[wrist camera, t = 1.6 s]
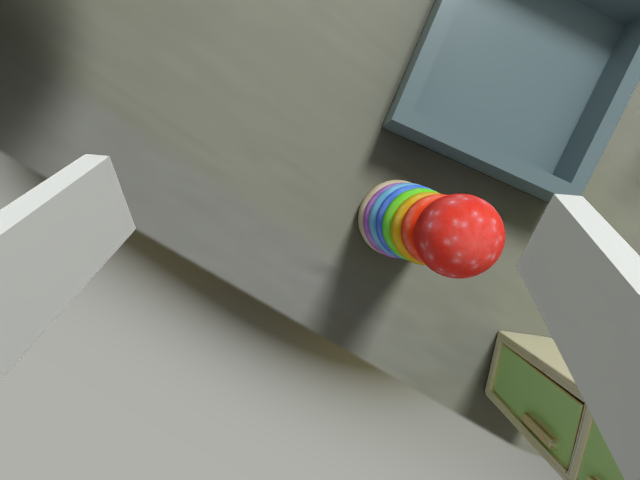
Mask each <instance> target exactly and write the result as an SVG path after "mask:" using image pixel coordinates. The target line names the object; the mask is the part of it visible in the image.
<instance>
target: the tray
mask: <svg viewBox="0 0 640 480" xmlns="http://www.w3.org/2000/svg"><path fill="white" fill-rule="evenodd" d="M639 79H640V0H436V1H435V3H434V6H433V8H432V10H431V13H430V15H429V17H428V20H427V22H426V24H425V27H424V29H423V31H422V34H421V36H420V38H419V41H418V43H417V46H416V48H415V50H414V53H413V55H412V57H411V60H410V62H409V64H408V67H407V69H406V71H405V74H404V76H403V78H402V81H401V83H400V86H399V88H398V90H397V93H396V95H395V97H394V100H393V102H392V104H391V107H390V109H389V111H388V114H387V116H386V118H385V121H384V123H383V126H382V128H384V129H386V130H388V131H390V132H393V133H395V134H397V135H399V136H401V137H404V138H406V139H408V140H410V141H412V142H415V143H417V144H419V145H421V146H424V147H426V148H428V149H430V150H432V151H435V152H437V153H439V154H441V155H443V156H446V157H448V158H450V159H452V160H455V161H457V162H459V163H461V164H463V165H466V166H468V167H470V168H472V169H474V170H477V171H479V172H481V173H483V174H486V175H488V176H490V177H492V178H494V179H497V180H499V181H501V182H503V183H505V184H508V185H510V186H512V187H514V188H517V189H519V190H521V191H523V192H525V193H528V194H530V195H532V196H534V197H536V198H539V199H541V200H543V201H545V202H547V203H549V202H550V201H551V199H552V197H553V195H554V194H563V195H575V196H581V195H582V193H583V191H584V189H585V187H586V185H587V183H588V181H589V179H590V177H591V175H592V173H593V171H594V169H595V167H596V165H597V163H598V161H599V159H600V157H601V155H602V153H603V151H604V149H605V147H606V145H607V143H608V141H609V139H610V137H611V135H612V133H613V131H614V129H615V127H616V125H617V123H618V121H619V119H620V117H621V115H622V113H623V111H624V109H625V107H626V105H627V103H628V101H629V99H630V97H631V95H632V93H633V91H634V89H635V87H636V85H637V83H638V81H639Z"/></svg>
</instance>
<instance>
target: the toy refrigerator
mask: <svg viewBox="0 0 640 480" xmlns="http://www.w3.org/2000/svg"><path fill="white" fill-rule="evenodd" d="M485 394H486V396H487V397H488V398H489V399H490V400H491V401H492V402H493V403H494V404H495V405H496V407H497V408H498V409H499V410H500V411H501V412H502V413H503V414H504V415H505V416H506V417H507V418H508V420H509V421H510V422H511V423H512V424H513V425H514V426H515V427H516V428H517V429H518V430H519V431H520V433H521V434H522V435H523V436H524V437H525V438H526V439H527V440H528V441H529V442H530V443H531V445H532V446H533V447H534V448H535V449H536V450H537V451H538V452H539V453H540V454H541V455H542V457H543V458H544V459H545V460H546V461H547V462H548V463H549V464H550V465H551V466H552V467H553V469H554V470H555V471H556V472H557V473H558V474H559V475H560V476H561V477H562V478H563V480H624V478H623V476H622V474H621V472H620V470H619V468H618V466H617V464H616V462H615V460H614V458H613V456H612V454H611V452H610V450H609V448H608V446H607V444H606V442H605V440H604V438H603V436H602V435H601V433H600V431H599V429H598V427H597V425H596V423H595V421H594V419H593V417H592V415H591V413H590V411H589V409H588V407H587V405H586V403H585V401H584V399H583V397H582V395H581V393H580V391H579V389H578V387H577V385H576V383H575V381H574V379H573V377H572V375H571V373H570V371H569V369H568V367H567V365H566V363H565V361H564V360H563V358H562V356H561V354H560V352H559V350H558V348H557V346H556V344H555V342H554V340H553V338H550V337H543V336H536V335H529V334H521V333H513V332H506V331H499V332H498V335H497V339H496V344H495V348H494V353H493V357H492V362H491V366H490V371H489V375H488V380H487V384H486V389H485Z"/></svg>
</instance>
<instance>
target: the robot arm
mask: <svg viewBox="0 0 640 480" xmlns="http://www.w3.org/2000/svg"><path fill="white" fill-rule="evenodd" d="M135 229H136V228H135V225H134V222H133V220H132V217H131V214H130V211H129V209H128V206H127V203H126V200H125V198H124V195H123V192H122V189H121V187H120V184H119V181H118V178H117V176H116V173H115V170H114V167H113V165H112V162H111V159H110V156H102V155H90V154H85V155H83V156H82V157H80V158H79V159H77V160H76V161H74V162H73V163H71V164H70V165H68V166H67V167H65V168H63V169H62V170H60V171H59V172H57V173H56V174H54V175H53V176H51V177H50V178H48V179H47V180H45V181H44V182H42V183H41V184H39V185H38V186H36V187H34V188H33V189H31V190H30V191H28V192H27V193H25V194H24V195H22V196H21V197H19V198H18V199H16V200H15V201H13V202H12V203H10V204H9V205H7V206H6V207H4V208H2V209H1V210H0V381H1V379H2V378H3V377H4V376H5V375H6V374H7V373H8V372H9V371H10V370H11V368H12V367H13V366H14V365H15V364H16V363H17V362H18V361H19V359H20V358H21V357H22V356H23V355H24V354H25V353H26V352H27V350H28V349H29V348H30V347H31V346H32V345H33V344H34V342H35V341H36V340H37V339H38V338H39V337H40V336H41V335H42V334H43V332H44V331H45V330H46V329H47V328H48V327H49V326H50V324H51V323H52V322H53V321H54V320H55V319H56V318H57V317H58V316H59V314H60V313H61V312H62V311H63V310H64V309H65V308H66V307H67V306H68V304H69V303H70V302H71V301H72V300H73V299H74V298H75V297H76V295H77V294H78V293H79V292H80V291H81V290H82V289H83V287H84V286H85V285H86V284H87V283H88V282H89V281H90V280H91V279H92V277H93V276H94V275H95V274H96V273H97V272H98V271H99V270H100V268H101V267H102V266H103V265H104V264H105V263H106V262H107V261H108V259H109V258H110V257H111V256H112V255H113V254H114V253H115V252H116V250H117V249H118V248H119V247H120V246H121V245H122V244H123V243H124V242H125V240H126V239H127V238H128V237H129V236H130V235H131V234H132V233H133V231H134V230H135ZM516 267H517V269H518V271H519V273H520V275H521V277H522V279H523V281H524V283H525V285H526V286H527V288H528V290H529V292H530V294H531V296H532V298H533V300H534V302H535V304H536V306H537V308H538V310H539V312H540V314H541V316H542V318H543V320H544V322H545V324H546V326H547V328H548V330H549V332H550V334H551V336H552V338H553V340H554V342H555V344H556V346H557V348H558V350H559V352H560V354H561V356H562V358H563V360H564V361H565V363H566V365H567V367H568V369H569V371H570V373H571V375H572V377H573V379H574V381H575V383H576V385H577V387H578V389H579V391H580V393H581V395H582V397H583V399H584V401H585V403H586V405H587V407H588V409H589V411H590V413H591V415H592V417H593V419H594V421H595V423H596V425H597V427H598V429H599V431H600V433H601V435H602V436H603V438H604V440H605V442H606V444H607V446H608V448H609V450H610V452H611V454H612V456H613V458H614V460H615V462H616V464H617V466H618V468H619V470H620V472H621V474H622V476H623V478H624V480H640V256H639V255H638V254H637V253H636V252H635V251H634V250H633V249H632V248H631V247H630V245H629V244H628V243H627V242H626V241H625V240H624V239H623V238H622V237H621V236H620V235H619V234H618V233H617V232H616V231H615V230H614V229H613V228H612V227H611V226H610V225H609V224H608V222H607V221H606V220H605V219H604V218H603V217H602V216H601V215H600V214H599V213H598V212H597V211H596V210H595V209H594V208H593V207H592V206H591V205H590V204H589V203H588V202H587V201H586V199H585V198H584V197H583V196H575V195H563V194H554V195H553V197H552V199H551V201H550V202H549V204H548V206H547V208H546V210H545V212H544V214H543V216H542V217H541V219H540V221H539V223H538V225H537V227H536V229H535V231H534V233H533V234H532V236H531V238H530V240H529V242H528V244H527V246H526V248H525V250H524V251H523V253H522V255H521V257H520V259H519V261H518V263H517V265H516Z"/></svg>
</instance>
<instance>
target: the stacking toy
mask: <svg viewBox="0 0 640 480" xmlns="http://www.w3.org/2000/svg"><path fill="white" fill-rule="evenodd" d="M358 224H359V229H360V232H361V235H362V237H363V239H364V240H365V242H366V243H367V244H368V245H369V246H370V247H371V248H372V249H373V250H375V251H376V252H378V253H380V254H383V255H385V256H388V257H391V258H397V259H405V260H408V261H411V262H413V263H416V264H421V265H427V266H428V267H429V268H430V269H431V270H433V271H435V272H436V273H438V274H440V275H443V276H446V277H450V278H469V277H473V276H476V275H478V274H481V273H483V272H484V271H486V270H487V269H489V268H490V267H491V266H492V265H493V264H494V263H495V262H496V261H497V259H498V258H499V256H500V255H501V253H502V250H503V248H504V244H505V228H504V224H503V221H502V219H501V217H500V215H499V214H498V212H497V211H496V210H495V209H494V207H493V206H492V205H491V204H489V203H488V202H486V201H485V200H483V199H481V198H479V197H476V196H474V195H470V194H462V193H461V194H451V195H446V194H440V193H438V192H436V191H434V190H432V189H430V188H428V187H425V186H422V185H419V184H414V183H411V182H408V181H404V180H390V181H386V182H383V183H380V184H379V185H377V186H375V187H374V188H373V189H372V190H370V191H369V193H368V194H367V195H366V196H365V198H364V199H363V201H362V203H361V206H360V209H359V214H358Z"/></svg>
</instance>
